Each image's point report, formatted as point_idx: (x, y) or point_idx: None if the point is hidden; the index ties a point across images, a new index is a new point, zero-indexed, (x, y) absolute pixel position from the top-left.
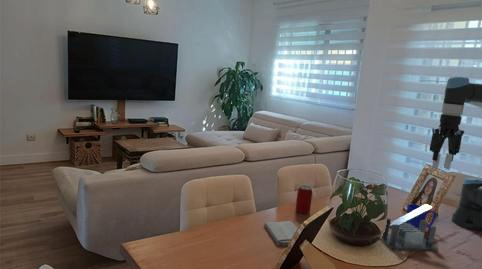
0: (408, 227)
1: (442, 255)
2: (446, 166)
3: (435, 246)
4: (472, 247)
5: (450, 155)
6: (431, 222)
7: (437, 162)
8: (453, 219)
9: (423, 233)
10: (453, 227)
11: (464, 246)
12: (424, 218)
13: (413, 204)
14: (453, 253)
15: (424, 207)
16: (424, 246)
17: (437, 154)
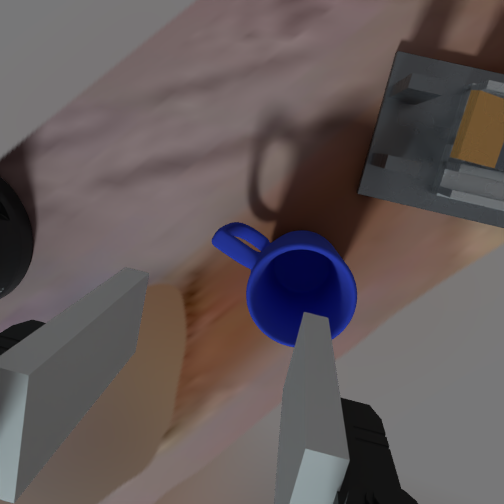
0: (495, 171)
1: (420, 6)
2: (130, 321)
3: (397, 66)
4: (183, 37)
5: (41, 375)
6: (237, 229)
7: (333, 363)
8: (20, 273)
9: (492, 81)
10: (80, 224)
11: (215, 54)
12: (290, 238)
13: (280, 339)
14: (343, 10)
15: (491, 138)
16: (456, 78)
17: (352, 480)
